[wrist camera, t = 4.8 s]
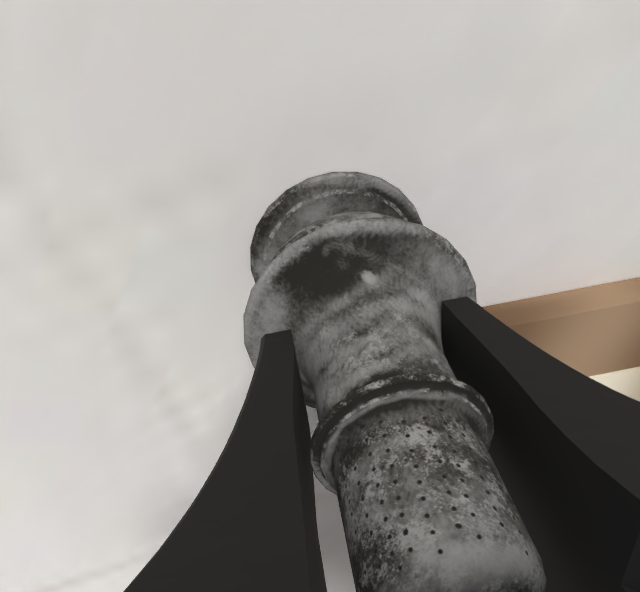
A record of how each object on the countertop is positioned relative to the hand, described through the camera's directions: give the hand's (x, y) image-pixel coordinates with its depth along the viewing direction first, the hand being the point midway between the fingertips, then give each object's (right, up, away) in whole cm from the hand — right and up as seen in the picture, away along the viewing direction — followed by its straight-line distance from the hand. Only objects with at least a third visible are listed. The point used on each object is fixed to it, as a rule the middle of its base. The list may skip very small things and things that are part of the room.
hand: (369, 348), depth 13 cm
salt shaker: (-1, +3, +4) cm, 5 cm away
